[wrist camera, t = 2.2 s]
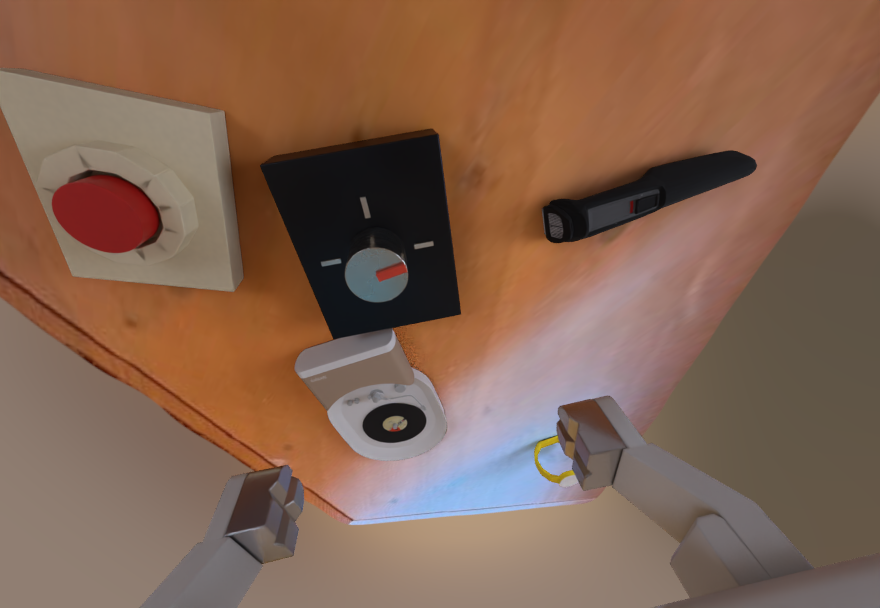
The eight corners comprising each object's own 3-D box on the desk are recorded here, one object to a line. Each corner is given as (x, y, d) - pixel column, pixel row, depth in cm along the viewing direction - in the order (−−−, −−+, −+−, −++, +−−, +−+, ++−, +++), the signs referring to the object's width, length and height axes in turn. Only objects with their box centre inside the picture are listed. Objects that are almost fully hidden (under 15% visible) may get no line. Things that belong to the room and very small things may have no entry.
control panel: (272, 155, 22) (258, 165, 20) (432, 128, 23) (439, 134, 20) (337, 318, 30) (333, 341, 28) (454, 296, 31) (461, 315, 28)
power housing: (22, 68, 18) (-58, 65, 15) (224, 110, 21) (194, 116, 17) (95, 262, 24) (50, 290, 21) (244, 278, 27) (224, 305, 23)
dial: (364, 284, 25) (361, 312, 22) (339, 238, 23) (332, 263, 20) (413, 266, 25) (417, 293, 22) (392, 218, 23) (394, 240, 20)
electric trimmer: (718, 183, 28) (752, 193, 26) (545, 241, 29) (561, 257, 26) (727, 136, 26) (766, 142, 24) (540, 200, 27) (557, 213, 24)
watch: (529, 451, 47) (545, 493, 42) (527, 440, 46) (544, 483, 41) (569, 439, 47) (591, 481, 42) (569, 428, 46) (591, 470, 41)
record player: (405, 339, 29) (459, 455, 40) (403, 317, 31) (455, 433, 43) (279, 378, 29) (369, 482, 41) (287, 354, 32) (369, 458, 43)
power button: (65, 168, 18) (37, 175, 17) (150, 181, 19) (131, 189, 18) (90, 236, 20) (67, 248, 19) (166, 245, 21) (150, 257, 20)
